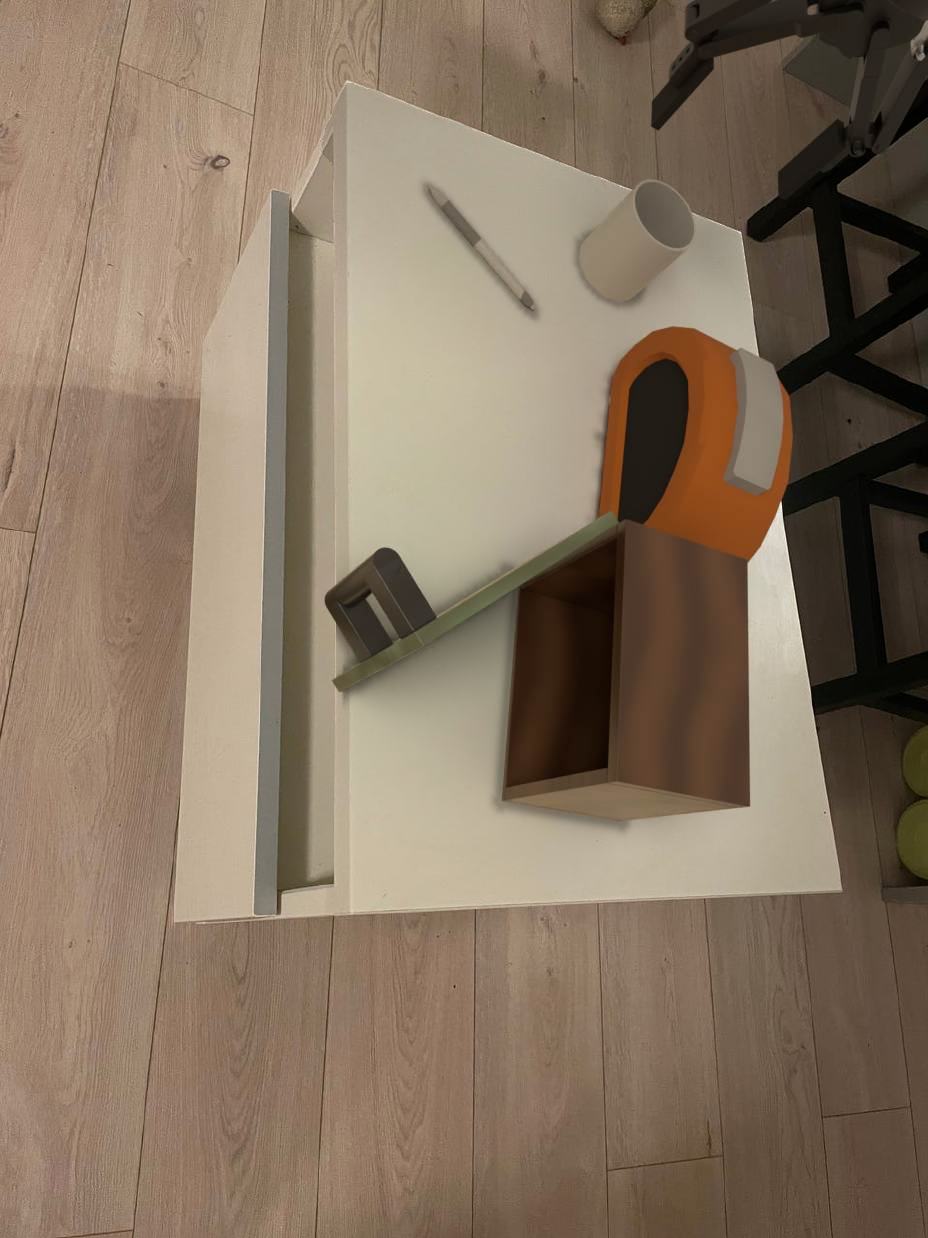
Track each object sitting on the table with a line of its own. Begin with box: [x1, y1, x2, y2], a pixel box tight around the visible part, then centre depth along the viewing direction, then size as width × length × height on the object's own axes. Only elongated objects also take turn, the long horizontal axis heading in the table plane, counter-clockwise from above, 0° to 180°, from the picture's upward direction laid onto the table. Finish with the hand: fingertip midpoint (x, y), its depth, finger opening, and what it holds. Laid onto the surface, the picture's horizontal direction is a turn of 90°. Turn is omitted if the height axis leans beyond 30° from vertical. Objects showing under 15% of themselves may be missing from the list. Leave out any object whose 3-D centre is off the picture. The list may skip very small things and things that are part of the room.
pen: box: [428, 185, 536, 311], centre depth 83 cm, size 1×14×1 cm, turn 49°
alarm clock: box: [598, 325, 794, 563], centre depth 77 cm, size 23×9×17 cm, turn 171°
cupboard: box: [501, 519, 751, 822], centre depth 69 cm, size 11×18×15 cm, turn 174°
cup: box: [578, 178, 697, 303], centre depth 87 cm, size 7×10×9 cm
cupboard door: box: [324, 511, 619, 693], centre depth 64 cm, size 6×18×15 cm, turn 126°
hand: (720, 152), depth 77 cm, fingers open, 13 cm apart
